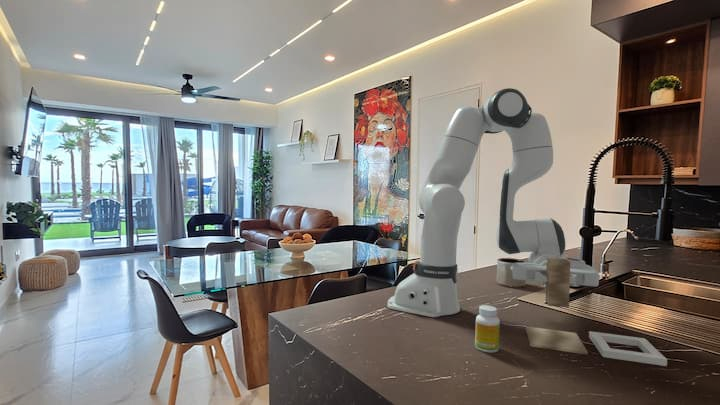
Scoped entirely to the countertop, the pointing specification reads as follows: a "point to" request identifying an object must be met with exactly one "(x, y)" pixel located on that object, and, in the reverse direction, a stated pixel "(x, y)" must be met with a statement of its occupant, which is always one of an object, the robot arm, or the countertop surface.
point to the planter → (508, 272)
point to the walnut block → (558, 282)
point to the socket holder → (648, 356)
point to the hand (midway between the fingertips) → (558, 280)
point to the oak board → (555, 340)
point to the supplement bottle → (487, 329)
